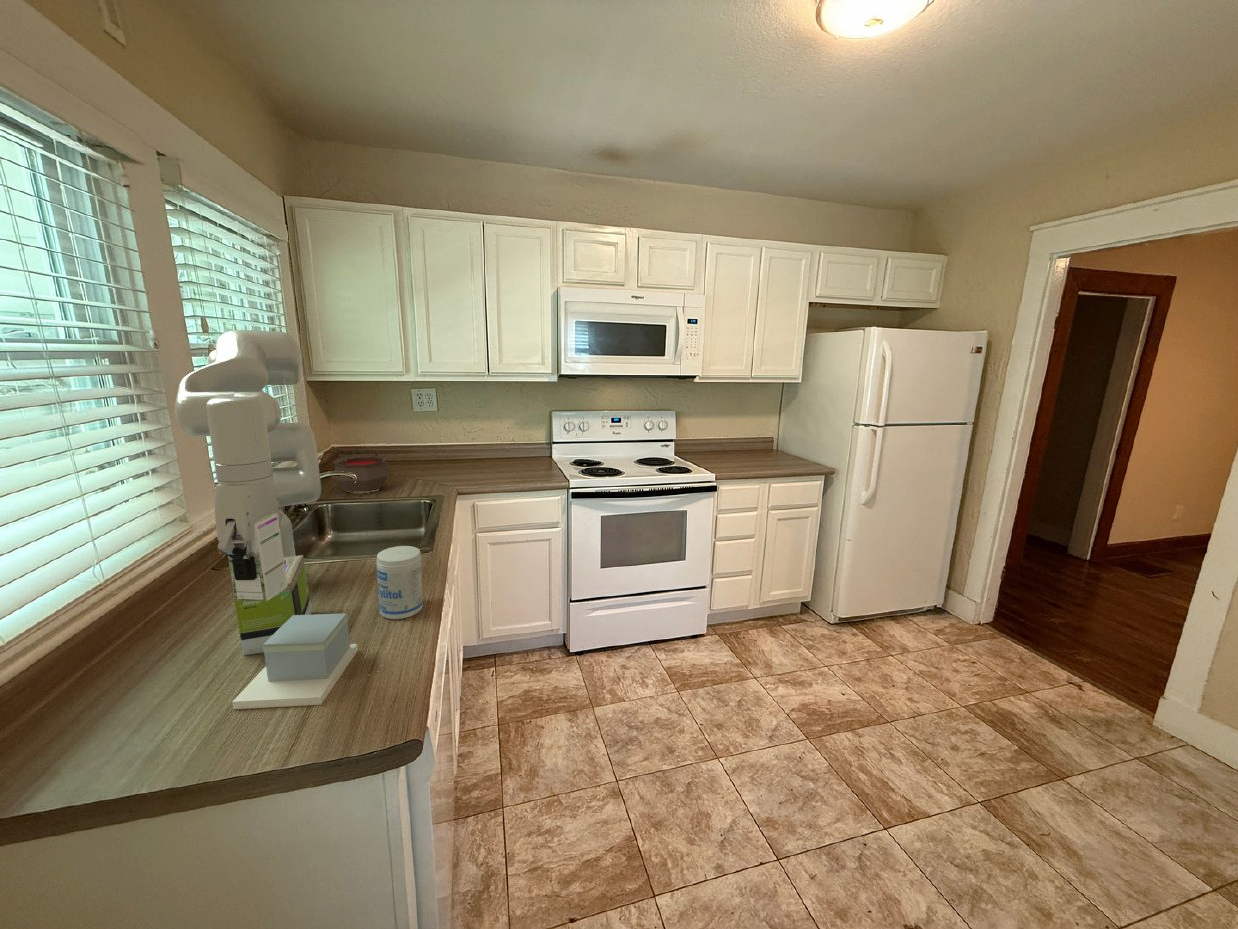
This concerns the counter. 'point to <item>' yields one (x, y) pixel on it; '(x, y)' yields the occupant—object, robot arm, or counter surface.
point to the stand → (300, 663)
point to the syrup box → (263, 563)
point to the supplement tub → (399, 582)
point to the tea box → (273, 608)
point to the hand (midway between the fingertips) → (258, 569)
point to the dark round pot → (362, 472)
